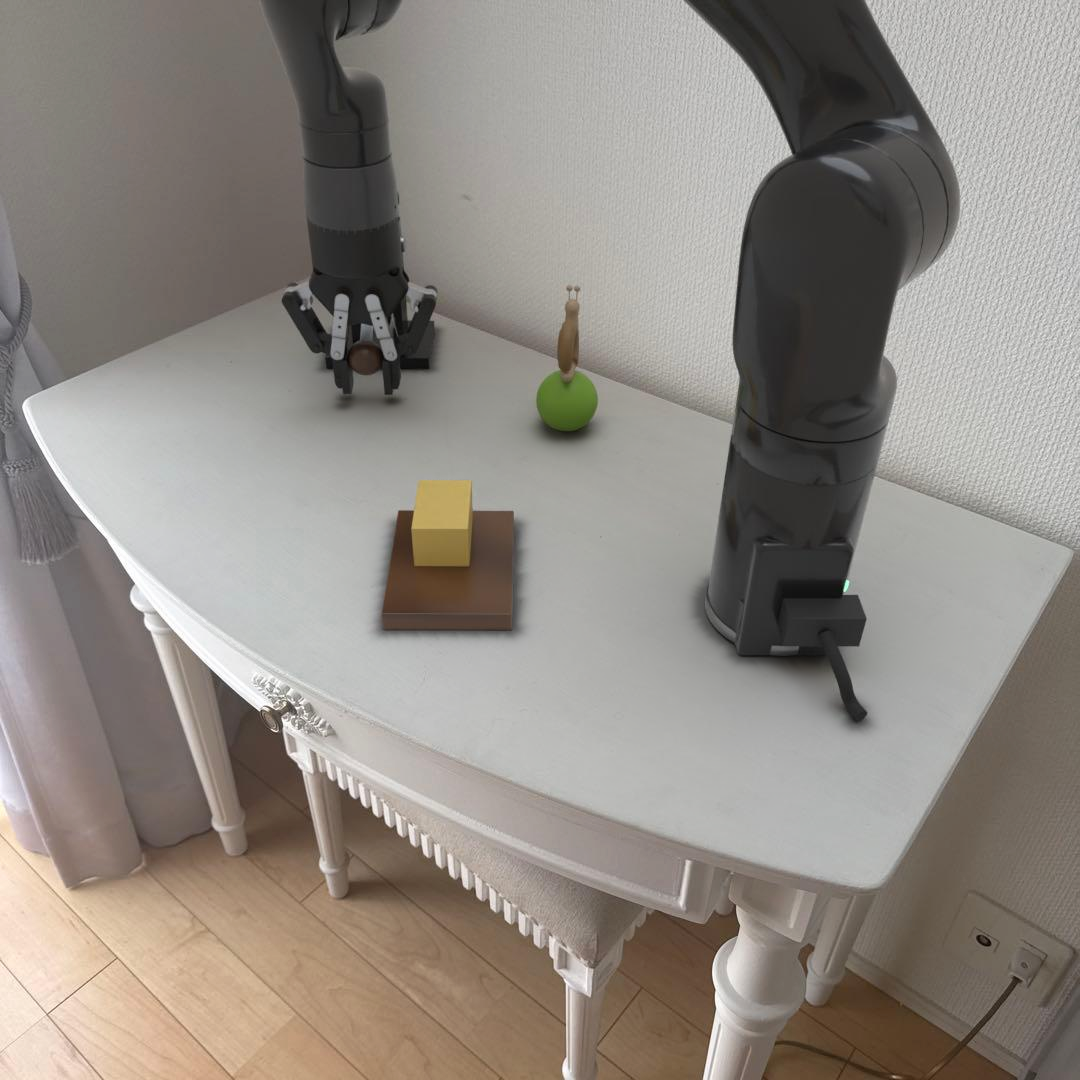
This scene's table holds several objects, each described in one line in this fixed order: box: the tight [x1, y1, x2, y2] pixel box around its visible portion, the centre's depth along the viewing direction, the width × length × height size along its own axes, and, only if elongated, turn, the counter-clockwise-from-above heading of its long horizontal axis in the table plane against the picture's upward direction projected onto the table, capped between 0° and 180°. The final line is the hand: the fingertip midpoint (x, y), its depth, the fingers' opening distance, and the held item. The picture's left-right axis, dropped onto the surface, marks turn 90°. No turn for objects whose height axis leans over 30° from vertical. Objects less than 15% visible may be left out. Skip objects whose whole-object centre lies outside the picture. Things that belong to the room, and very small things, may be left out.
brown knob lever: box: [348, 324, 384, 376], centre depth 96 cm, size 15×3×3 cm
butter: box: [411, 479, 474, 566], centre depth 77 cm, size 6×4×4 cm, turn 0°
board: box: [380, 509, 515, 631], centre depth 77 cm, size 12×9×2 cm
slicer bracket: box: [324, 216, 436, 370], centre depth 101 cm, size 8×10×13 cm
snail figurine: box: [535, 284, 599, 432], centre depth 91 cm, size 5×6×12 cm
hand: (369, 389), depth 96 cm, fingers closed on brown knob lever, 3 cm apart
